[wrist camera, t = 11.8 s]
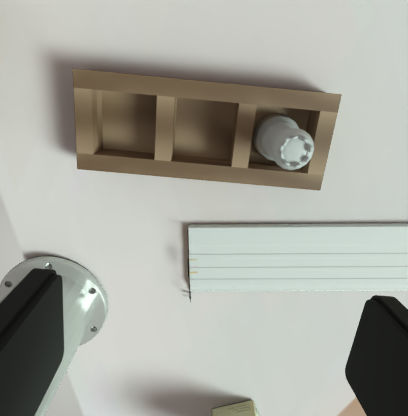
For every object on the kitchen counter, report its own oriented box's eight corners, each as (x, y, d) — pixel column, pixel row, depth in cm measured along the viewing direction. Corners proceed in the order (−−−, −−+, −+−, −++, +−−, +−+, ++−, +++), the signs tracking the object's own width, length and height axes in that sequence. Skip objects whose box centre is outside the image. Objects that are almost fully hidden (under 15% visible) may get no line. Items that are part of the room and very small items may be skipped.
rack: (309, 180, 34) (320, 190, 31) (89, 160, 34) (77, 169, 30) (327, 93, 31) (341, 94, 28) (86, 70, 31) (72, 68, 27)
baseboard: (437, 296, 40) (459, 220, 36) (454, 311, 37) (479, 230, 34) (190, 297, 40) (188, 221, 37) (189, 312, 37) (187, 232, 34)
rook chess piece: (277, 102, 31) (300, 108, 23) (307, 136, 32) (338, 152, 25) (242, 136, 32) (254, 151, 25) (272, 168, 33) (292, 191, 26)
